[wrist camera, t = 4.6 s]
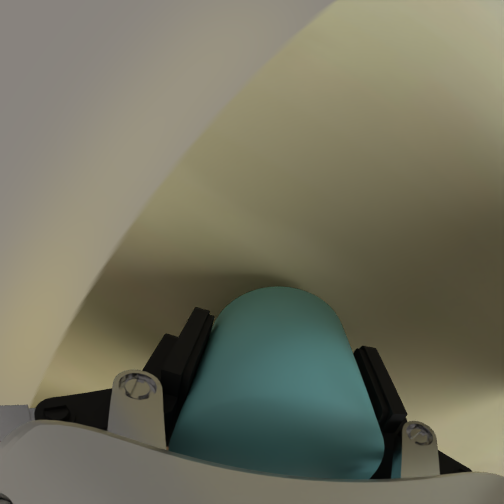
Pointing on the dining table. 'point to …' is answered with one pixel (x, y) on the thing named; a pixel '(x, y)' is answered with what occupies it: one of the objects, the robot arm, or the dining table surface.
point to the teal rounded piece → (280, 392)
